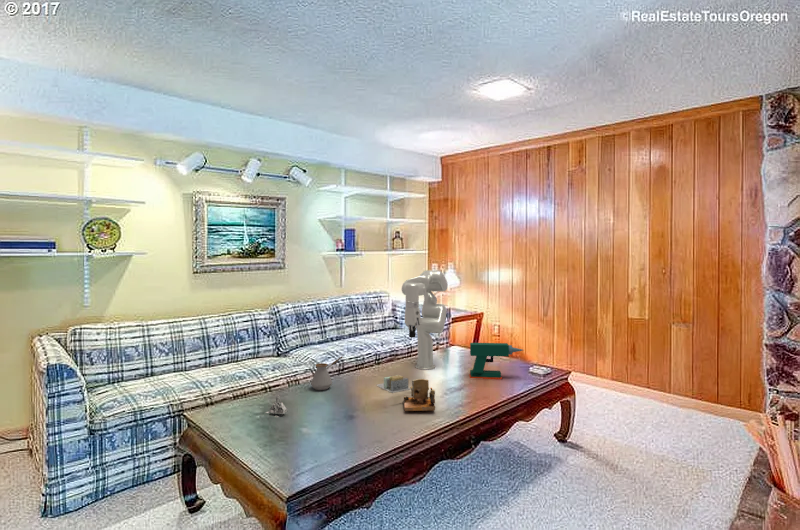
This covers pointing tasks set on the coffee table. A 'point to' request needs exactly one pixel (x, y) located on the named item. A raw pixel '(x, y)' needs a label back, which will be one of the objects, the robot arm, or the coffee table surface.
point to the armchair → (420, 397)
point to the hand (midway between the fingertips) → (412, 337)
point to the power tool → (481, 357)
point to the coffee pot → (322, 376)
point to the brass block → (395, 378)
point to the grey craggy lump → (278, 407)
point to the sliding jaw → (387, 382)
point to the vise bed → (396, 385)
